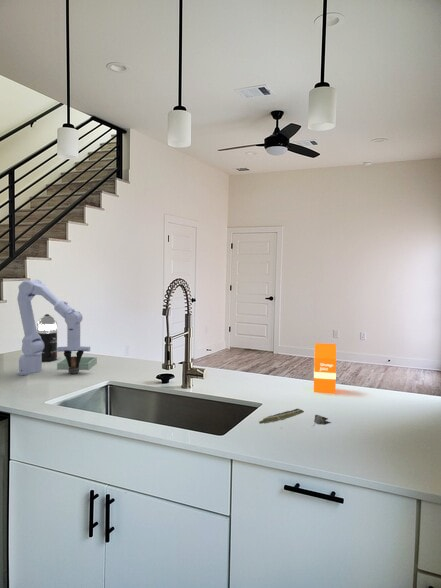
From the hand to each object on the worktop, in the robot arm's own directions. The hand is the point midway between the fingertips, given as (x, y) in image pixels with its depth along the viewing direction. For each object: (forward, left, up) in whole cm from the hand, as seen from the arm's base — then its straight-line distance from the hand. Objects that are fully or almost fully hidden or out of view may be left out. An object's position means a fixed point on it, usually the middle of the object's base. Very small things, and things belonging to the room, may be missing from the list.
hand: (73, 366), depth 198 cm
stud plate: (0, 0, -4) cm, 4 cm away
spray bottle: (-25, +33, -4) cm, 42 cm away
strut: (0, 0, -2) cm, 2 cm away
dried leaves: (+92, -60, -5) cm, 110 cm away
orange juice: (+112, -21, -4) cm, 114 cm away
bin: (-3, +15, -4) cm, 16 cm away
